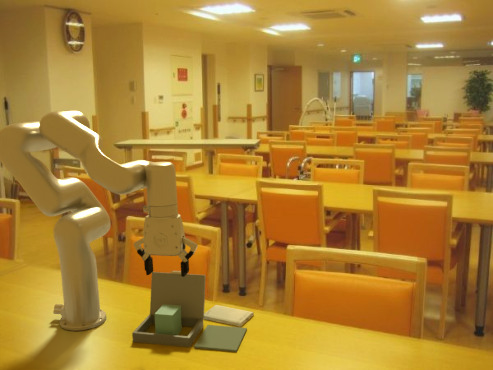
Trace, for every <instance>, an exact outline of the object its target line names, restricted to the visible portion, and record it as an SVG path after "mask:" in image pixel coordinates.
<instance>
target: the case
mask: <svg viewBox="0 0 493 370" xmlns="http://www.w3.org/2000/svg"><path fill="white" fill-rule="evenodd" d="M153 324H154V325H155V314H150V313H149V314H148V315H147V316H146V317H145V319H144V320H142V322H141V323H140V324H139V325H138V326H137V327H136V328H135V329H134V330H133V331H132V333H131V334H132V335H131V336H132V343H141V344H154V345H163V346H175V347H184V348H191V346H192V345H193V344H194V342H195V340H196V339H197V337H198V336H199V334H200V333H201V331H202V330H203V328H204V319H203V318H197V317H184V316H181V324H182V327H187V328H188V327H189V328H192V329H191V331H190V332H189V333H188V335H179V334H178V335H168V334H156V332H155V333H154V332H146V331H147V330H148V329H149V327H151V326H152V325H153Z"/></svg>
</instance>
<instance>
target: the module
mask: <svg viewBox="0 0 493 370" xmlns="http://www.w3.org/2000/svg"><path fill="white" fill-rule="evenodd" d="M154 326H155V327H154V328H155V333H156V334H168V335H179V334H180V333H181V332H182V330H183V329H182V327H183V326H182V324H181V306H177V305H164V304H163V305H162V306H161V307H160V309H159V310H158V311H157V312H156V313H155V324H154Z"/></svg>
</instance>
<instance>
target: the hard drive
mask: <svg viewBox="0 0 493 370" xmlns="http://www.w3.org/2000/svg"><path fill="white" fill-rule="evenodd" d="M254 313H255V312H253V311H248V310H245V309H239V308H234V307H228V306H224V305H218V304H215V305H213V306H212V307H211V308H210V309H208V310H207V311H206V312H204V318H203V320H207V321H211V322H217V323H222V324H227V325H229V326H234V327H240V328H242V326H243V325H244V324H246V323H247V322H248V321H249V320H250V319H251V318H252V317H253V316H254V315H255V314H254Z"/></svg>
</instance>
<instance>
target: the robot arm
mask: <svg viewBox="0 0 493 370" xmlns="http://www.w3.org/2000/svg"><path fill="white" fill-rule="evenodd" d="M90 125H91V124H90V121H89V119H88V117H87V116H86V114H84V113H82V112H81V111H78V110H74V109H72V110H69V109H68V110H56V111H55V110H54V111H50V112H47V113H46V114H45V115H44V116H42V117H41V119H40V120H36V121H35V120H33V121H24V122H23V121H22V122H17V123H16V122H15V123H10V124H8V125H5V126H4V127H2V128H1V129H0V162H1V164H2V166H3V167H4V168H5V169H6V170H7V172H9V174H10V175H12V177H13V178H14V179H15V180H16V182H18V183H19V185H20V186H21V188H22V189H23V190H24V191H25V193H26V194H27V195H28V197H29V198H30V199H31V201H32V202H33V203H34V205H35V206H36V208H37V209H38V210H39V211H40V212H41V213H42V214H43V215H45V216H46V217H56V216H59V215H63V214H65V213H68V214H65V215H63V216H62V217H61V218H59V219H58V220H57V221H56V223H55V225H54V227H53V232H52V233H53V239H54V242H55V245H56V248H57V252H58V257H59V258H58V260H59V266H60V267H59V268H60V273H61V274H60V275H61V286H62V294H63V295H62V297H63V304H60V303H56V304H55V305H54V306H53V314H54V315H60V316H61V317H60V319H59V326H60V327H61V328H62V329H64V330H67V331H73V332H75V331H76V332H77V331H86V330H90V329H93V328H96V327H99V326H100V325H101V324H103V323H104V322H106V319H107V313H106V312H105V311H104V310H103V309H101V305H100V291H99V279H98V268H97V259H96V255H95V253H94V251H93V249H92V247H91V243H92V242H93V241H96V240H98V239H100V238H102V237H104V236H105V235H106V234H107V233H108V232H109V231H110V229H111V226H112V225H111V223H112V222H111V218H110V215H109V213H108V212H107V209H106V208H105V207H104V206H103V204H102V203H101V202H100V200H99V199H98V198H97V197H96V195H95V194H94V192H92V190H91V189H90V187H89V186H87V184H86V183H85V182H84V181H82V180H81V179H79V178H77V177H73V176H71V177H70V176H68V177H64V178H57V177H56V176H55V175H54V174H53V172H52V171H51V170H50V168H49V167H48V166H47V165H46V164H45V163H44V162H43V161H42V160H40V159H38V158H37V157H36V156H34V155H32V154H31V153H36V152H41V151H47V150H52V149H55V148H59V149H60V150H61V151H63V152H65V153H67V154H68V155H70V156H71V157H72V158H75V159H76V160H78V161H79V162H80V163H81V165H82V168H83V170H84V171H85V173H86V174H87V176H88V177H89V178H90V179H91V180H92V181H93V182H95V183H96V184H97V185H99V186H100V187H103V188H104V189H105V190H107V191H109V192H111V193H113V194H116V195H123V196H124V195H128V194H131V193H133V192H136V191H139V190H142V189H146V198H147V199H146V200H147V204H146V205H143V207H142V210H143V212H147V215H146V216H144V217H145V218H144V224H143V237H142V238H140V239H138V240H136V241H134V242H133V243H132V244H133V247H134V249H135V250H136V253H137V254H138V255H139V257H141V259H142V261H143V263H144V264H143V265H144V271H145V275H146V276H149V275H152V272H154V261H153V257H152V256H161V257H166V256H167V257H168V256H169V257H176V256H178V257H179V259H180V260H181V262H180V271H181V276H182V277H185V276H186V275H187V274H189V273H190V263H189V262H190V260H189V259H190V258H192V257H193V256H194V255H195V253H196V251H197V249H198V246H199V245H198V243H197V242H195V241H193V240H192V239H190V238H187V237H186V235H185V228H184V224H183V223H184V222H183V219H182V216H181V214H179V210H178V209H179V205H178V192H177V189H178V188H177V173H176V167H175V165H174V163H172V162H170V161H156V162H154V161H148V160H145V159H144V160H143V159H137V160H132V161H128V162H125V163H121V164H120V163H118V162H116V161H115V160H112V159H111V158H109V157H108V156H106V154H104V153H103V152H102V151H101V150H102V149H103V144H104V140H103V138H102V136H101V135H100V134H99V133H97V132H95V131H93V130H92V129H91V126H90ZM69 212H70V213H69ZM142 245H143V247H142ZM186 246H187V247H189V248H190V249H189V252H187V250H186Z"/></svg>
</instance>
